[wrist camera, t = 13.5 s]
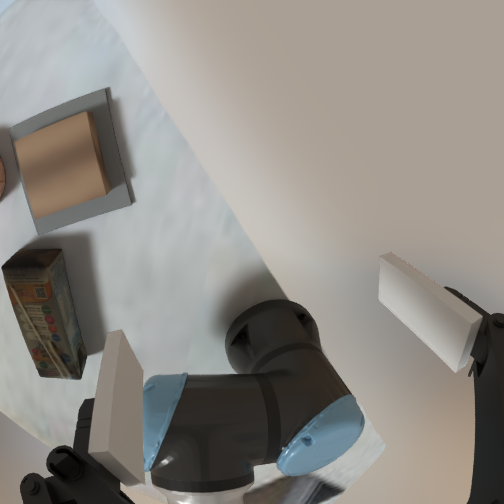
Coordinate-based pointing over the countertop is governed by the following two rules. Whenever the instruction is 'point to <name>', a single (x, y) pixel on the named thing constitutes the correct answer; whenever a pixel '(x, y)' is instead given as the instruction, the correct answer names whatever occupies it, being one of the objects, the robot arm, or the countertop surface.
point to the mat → (110, 154)
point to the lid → (62, 165)
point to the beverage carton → (46, 312)
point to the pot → (2, 177)
